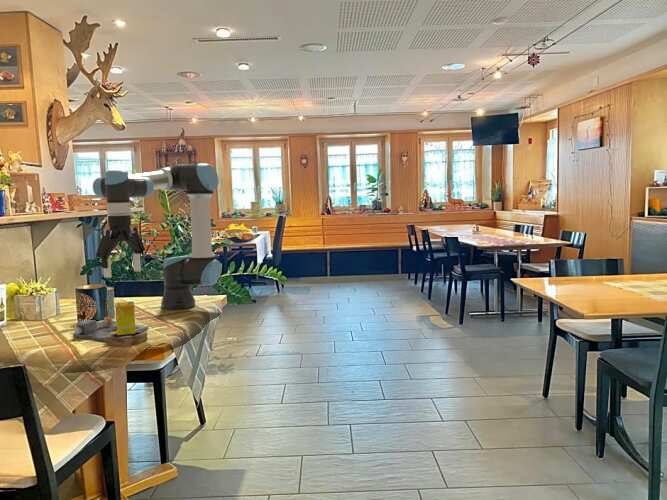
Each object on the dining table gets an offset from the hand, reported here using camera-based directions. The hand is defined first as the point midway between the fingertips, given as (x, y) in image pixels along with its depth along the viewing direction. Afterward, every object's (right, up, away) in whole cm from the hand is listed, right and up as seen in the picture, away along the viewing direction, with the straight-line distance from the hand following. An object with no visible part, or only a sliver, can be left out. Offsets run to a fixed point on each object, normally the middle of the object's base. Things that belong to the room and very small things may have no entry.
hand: (123, 274), depth 178 cm
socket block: (-7, -22, +7) cm, 24 cm away
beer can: (-22, -20, +31) cm, 43 cm away
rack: (+3, -23, -4) cm, 24 cm away
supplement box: (+3, -21, -5) cm, 22 cm away
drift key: (-14, -21, +7) cm, 26 cm away
